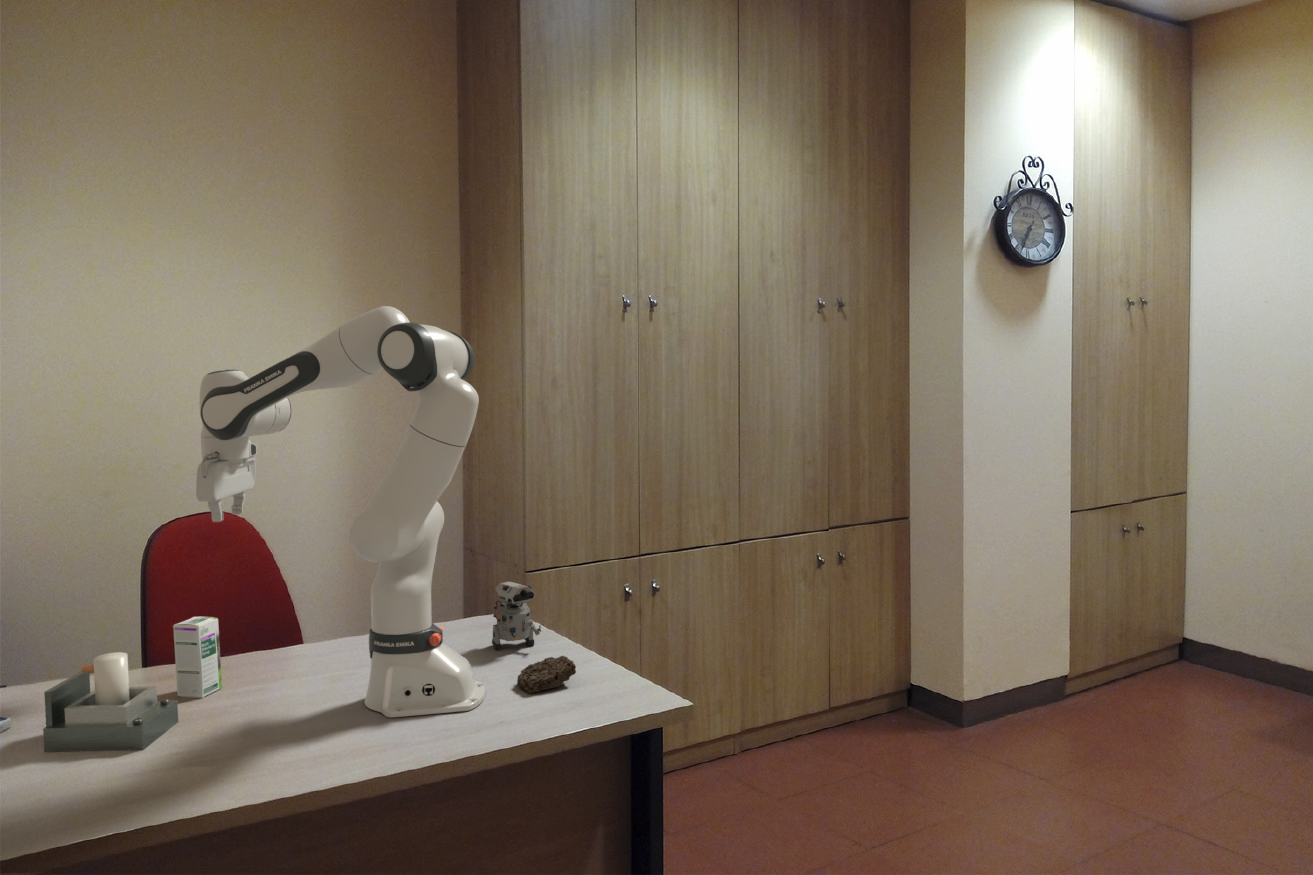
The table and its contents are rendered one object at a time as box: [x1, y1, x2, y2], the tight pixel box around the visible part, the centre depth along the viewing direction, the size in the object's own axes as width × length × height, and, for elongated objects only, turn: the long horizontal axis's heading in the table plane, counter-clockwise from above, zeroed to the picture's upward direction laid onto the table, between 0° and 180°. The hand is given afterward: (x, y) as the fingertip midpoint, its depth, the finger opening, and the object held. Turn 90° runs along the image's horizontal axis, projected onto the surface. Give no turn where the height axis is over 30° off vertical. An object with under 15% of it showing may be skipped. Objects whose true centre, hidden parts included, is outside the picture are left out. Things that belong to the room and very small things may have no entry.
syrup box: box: [172, 616, 223, 699], centre depth 176 cm, size 6×6×14 cm
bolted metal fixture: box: [42, 671, 179, 753], centre depth 155 cm, size 16×12×10 cm
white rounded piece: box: [80, 651, 130, 705], centre depth 155 cm, size 7×5×10 cm
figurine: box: [491, 581, 542, 651], centre depth 204 cm, size 9×12×15 cm
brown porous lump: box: [516, 655, 577, 694], centre depth 181 cm, size 12×10×5 cm
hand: (228, 517), depth 184 cm, fingers open, 8 cm apart
